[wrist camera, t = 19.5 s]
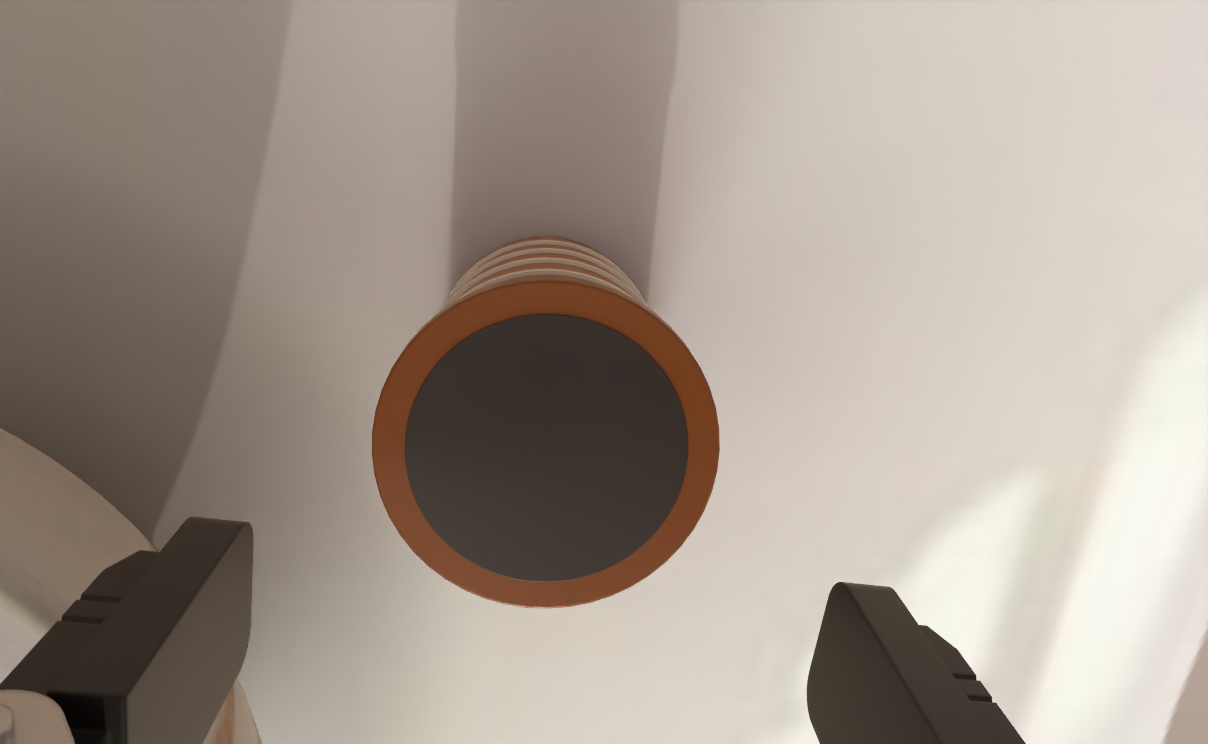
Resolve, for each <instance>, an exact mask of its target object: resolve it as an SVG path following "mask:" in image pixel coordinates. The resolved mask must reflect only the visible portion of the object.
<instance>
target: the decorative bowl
mask: <svg viewBox="0 0 1208 744" xmlns="http://www.w3.org/2000/svg"><path fill="white" fill-rule="evenodd" d="M139 550H144V551H155V552H159V551H158V550H157V549H156V548H155V547H154V546H153V545H152V544H151V543H150V542H149V540H148V539H147V538H146V537H145V536H144V535H143V534H142V533H141V532H140V531H139V530H138V529H137V528H136V527H135V526H134V525H133V524H132V523H131V522H130V521H129V520H128V519H127V518H126V517H125V516H124V515H123V514H122V513H120V512H119V511H118V510H117V509H116V508H115V507H114V506H113V505H112V504H111V503H110V502H108V501H107V500H106V499H105V498H104V497H102V496H101V495H100V494H99V493H97V492H96V491H95V490H94V489H93V488H91V487H90V486H89V485H88V484H87V483H85V482H84V481H83V480H81V479H80V478H78V477H77V476H76V475H74V474H73V473H72V472H70V471H69V470H67V469H66V468H65V467H63V466H62V465H60V464H59V463H58V462H56V461H55V460H53V459H52V458H50V457H48V456H47V455H45V454H44V453H42V452H40V451H39V450H37V449H36V448H34V447H32V446H31V445H29V444H28V443H26V442H24V441H23V440H21V439H19V438H18V437H16V436H14V435H12V434H10V433H9V432H7V431H5V430H3V429H1V428H0V684H1V683H2V681H3V680H4V679H5V678H6V677H7V676H8V675H9V674H10V673H11V672H12V670H13V669H14V668H15V667H16V666H17V665H18V664H19V663H20V662H21V660H22V659H23V658H24V657H25V656H26V655H27V654H28V653H29V652H30V651H31V649H32V648H33V647H34V646H35V645H36V644H37V643H38V642H39V641H40V639H41V638H42V637H43V636H44V635H45V634H46V633H47V632H48V631H49V630H50V628H51V627H52V626H53V625H54V624H55V623H56V622H57V621H61V619H62V615H63V614H64V613H65V612H66V611H67V610H68V609H69V607H70V606H71V605H72V604H73V603H74V602H75V601H76V600H80V598H81V594H82V593H83V592H84V591H85V590H86V589H87V588H88V586H89V585H90V584H91V583H92V582H93V581H94V580H95V579H96V578H97V576H98V575H99V574H100V573H101V572H102V571H103V570H104V569H106V568H108V567H110V566H111V565H113V564H115V563H117V562H119V561H121V560H122V559H124V558H126V557H128V556H130V555H132V554H133V553H135V552H137V551H139ZM203 744H262V743H261V739H260V736H259V732H258V729H257V726H256V724H255V721H254V718H253V715H252V712H251V710H250V707H249V704H248V701H247V699H246V696H245V693H244V690H243V688H242V685H241V683H240V681H239V679H238V677H237V678H236V680H235V682H234V684H233V686H232V688H231V690H230V692H229V694H228V696H227V698H226V700H225V702H224V703H223V705H222V707H221V709H220V711H219V713H218V715H217V717H216V719H215V721H214V723H213V725H212V727H211V729H210V731H209V732H208V734H207V736H206V738H205V740H204V742H203Z"/></svg>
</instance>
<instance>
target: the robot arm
mask: <svg viewBox="0 0 1208 744" xmlns="http://www.w3.org/2000/svg"><path fill="white" fill-rule="evenodd" d="M252 569H253V530H252V526H251V524H250V523H248V522H240V521H230V520H220V519H210V518H200V517H190V518H188V519H187V520H186V521H185V522H184V523H183V525H182V526H181V527H180V528H179V529H178V531H177V532H176V533H175V534H174V536H173V537H172V538H171V539H170V540H169V542H168V543H167V544H166V545H165V547H164V548H163V549H162V550H161V551H160V552H155V551H144V550H139V551H137V552H135V553H133V554H132V555H130V556H128V557H126V558H124V559H122V560H121V561H119V562H117V563H115V564H113V565H111V566H110V567H108V568H106V569H104V570H103V571H102V572H101V573H100V574H99V575H98V576H97V578H96V579H95V580H94V581H93V582H92V583H91V584H90V585H89V586H88V588H87V589H86V590H85V591H84V592H83V593H82V594H81V598H80V600H76V601H75V602H74V603H73V604H72V605H71V606H70V607H69V609H68V610H67V611H66V612H65V613H64V614H63V615H62V619H61V621H57V622H56V623H55V624H54V625H53V626H52V627H51V628H50V630H49V631H48V632H47V633H46V634H45V635H44V636H43V637H42V638H41V639H40V641H39V642H38V643H37V644H36V645H35V646H34V647H33V648H32V649H31V651H30V652H29V653H28V654H27V655H26V656H25V657H24V658H23V659H22V660H21V662H20V663H19V664H18V665H17V666H16V667H15V668H14V669H13V670H12V672H11V673H10V674H9V675H8V676H7V677H6V678H5V679H4V680H3V681H2V683H1V684H0V744H203V742H204V740H205V738H206V736H207V734H208V732H209V731H210V729H211V727H212V725H213V723H214V721H215V719H216V717H217V715H218V713H219V711H220V709H221V707H222V705H223V703H224V702H225V700H226V698H227V696H228V694H229V692H230V690H231V688H232V686H233V684H234V682H235V680H236V678H237V676H238V674H239V672H240V670H241V667H242V665H243V662H244V658H245V655H246V651H247V647H248V642H249V636H250V627H251V602H252ZM807 705H808V712H809V716H810V720H811V723H812V725H813V728H814V730H815V733H816V735H817V737H818V740H819V742H820V744H1025V742H1024V741H1023V739H1022V738H1021V737H1020V735H1019V734H1018V733H1017V731H1016V730H1015V728H1014V727H1013V726H1012V724H1011V723H1010V722H1009V720H1008V719H1007V717H1006V716H1005V715H1004V713H1003V712H1002V711H1001V709H1000V708H999V706H998V705H997V704H996V703H992V697H991V695H990V694H989V693H988V691H987V690H986V688H985V687H984V686H983V684H982V683H981V682H980V681H976V675H975V673H974V672H973V671H972V669H971V668H970V666H969V665H968V664H967V662H966V661H965V660H964V658H963V657H962V655H961V654H960V653H959V651H958V650H957V649H956V648H955V647H953V646H952V645H951V644H949V643H948V642H947V641H946V640H944V639H943V638H942V637H941V636H939V635H938V634H937V633H935V632H934V631H933V630H932V629H930V628H929V627H928V626H924V625H918V624H917V622H916V621H915V619H914V618H913V616H912V615H911V613H910V612H909V611H908V609H907V608H906V606H905V605H904V603H903V602H902V600H901V599H900V597H899V596H898V595H897V593H896V592H895V591H894V589H892V588H890V587H885V586H875V585H864V584H854V583H844V582H838V583H836V584H835V585H834V586H833V588H832V590H831V592H830V594H829V597H828V601H827V605H826V609H825V612H824V616H823V620H822V624H821V628H820V632H819V636H818V640H817V644H816V648H815V651H814V655H813V659H812V663H811V667H810V671H809V676H808V682H807Z"/></svg>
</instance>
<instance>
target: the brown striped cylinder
mask: <svg viewBox="0 0 1208 744" xmlns="http://www.w3.org/2000/svg"><path fill="white" fill-rule="evenodd" d="M719 451H720V449H719V425H718V419H717V412H716V407H715V404H714V400H713V397H712V394H711V391H710V387H709V385H708V383H707V381H706V379H705V376H704V374H703V372H702V370H701V368H700V366H699V365H698V363H697V361H696V360H695V358H694V357H693V355H692V354H691V352H690V351H689V349H688V348H687V346H686V345H685V343H684V342H683V341H682V340H681V339H680V337H679V336H678V335H677V334H676V333H675V332H674V330H673V329H672V328H671V327H670V326H669V325H668V324H667V323H666V322H665V321H663V320H662V319H661V318H660V317H659V316H658V315H657V314H656V313H654V312H653V311H652V310H650V308H649V307H648V305H647V303H646V302H645V300H644V299H643V297H642V296H641V294H640V292H639V291H638V289H637V288H636V286H635V285H634V283H633V282H632V281H631V280H630V279H629V278H628V276H627V275H626V274H625V273H624V272H623V271H622V270H621V269H620V268H618V267H617V266H616V265H615V264H614V263H613V262H611V261H610V260H609V259H607V258H606V257H605V256H603V255H602V254H600V253H599V252H597V251H596V250H594V249H592V248H590V247H588V246H586V245H583V244H580V243H577V242H575V241H572V240H567V239H562V238H554V237H536V238H528V239H523V240H518V241H515V242H512V243H509V244H506V245H504V246H502V247H500V248H498V249H496V250H494V251H493V252H491V253H490V254H488V255H487V256H485V257H484V258H483V259H481V260H480V261H479V262H478V263H476V264H475V265H474V266H473V267H472V268H471V269H469V270H468V271H467V272H466V273H465V274H464V275H463V277H462V278H461V279H460V280H459V281H458V282H457V284H456V285H455V287H454V288H453V290H452V291H451V293H450V294H449V296H448V298H447V300H446V301H445V303H444V305H443V306H442V308H441V309H440V311H439V313H438V314H436V315H435V316H434V317H433V318H432V319H431V320H430V321H428V322H427V323H426V324H425V325H424V326H423V327H422V328H421V329H420V330H419V331H418V333H417V334H416V335H415V336H414V337H413V338H412V339H411V341H410V342H409V343H408V344H407V346H406V347H405V349H404V350H403V352H402V353H401V355H400V357H399V358H398V360H397V361H396V363H395V364H394V366H393V367H392V369H391V371H390V373H389V375H388V378H387V380H386V382H385V384H384V386H383V388H382V391H381V394H380V398H379V401H378V404H377V407H376V411H375V418H374V424H373V430H372V458H373V466H374V474H375V478H376V482H377V486H378V489H379V493H380V497H381V499H382V501H383V504H384V506H385V508H386V511H387V513H388V515H389V517H390V519H391V521H392V522H393V524H394V526H395V527H396V529H397V531H398V532H399V534H400V535H401V537H402V538H403V539H404V540H405V542H406V543H407V544H408V545H409V547H410V548H411V549H412V550H413V552H414V553H415V554H416V555H418V556H419V557H420V558H421V559H422V560H423V561H424V562H425V563H426V564H427V565H428V566H429V567H430V568H432V569H433V570H434V571H436V572H437V573H438V574H440V575H441V576H442V577H444V578H445V579H446V580H448V581H450V582H452V583H453V584H455V585H457V586H459V587H460V588H462V589H464V590H466V591H468V592H471V593H473V594H475V595H478V596H480V597H483V598H485V599H489V600H492V601H496V602H499V603H503V604H507V605H514V606H520V607H527V608H559V607H570V606H575V605H580V604H585V603H590V602H594V601H597V600H600V599H603V598H606V597H609V596H612V595H614V594H616V593H618V592H620V591H623V590H625V589H627V588H629V587H631V586H633V585H634V584H636V583H638V582H639V581H641V580H642V579H644V578H646V577H647V576H649V575H650V574H651V573H653V572H654V571H655V570H656V569H658V568H659V567H660V566H661V565H663V564H664V563H665V562H666V561H667V560H668V559H669V558H670V557H671V556H672V555H673V554H674V553H675V552H676V551H677V550H678V549H679V548H680V547H681V545H682V544H683V543H684V541H685V540H686V539H687V537H688V536H689V535H690V533H691V532H692V531H693V529H694V528H695V526H696V524H697V522H698V521H699V519H700V517H701V515H702V514H703V512H704V510H705V507H706V505H707V502H708V500H709V497H710V495H711V492H712V489H713V485H714V481H715V477H716V473H717V467H718V459H719Z"/></svg>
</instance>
